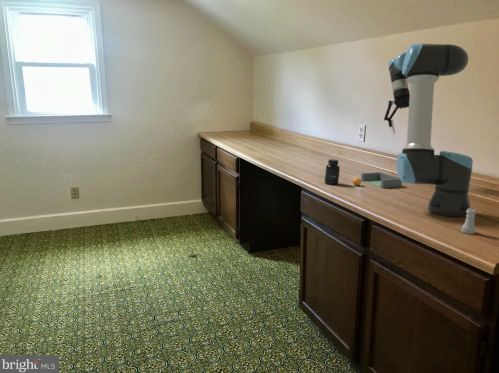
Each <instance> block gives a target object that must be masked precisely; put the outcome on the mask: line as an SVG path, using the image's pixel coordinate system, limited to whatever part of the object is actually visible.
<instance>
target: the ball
mask: <svg viewBox="0 0 499 373" xmlns="http://www.w3.org/2000/svg"><path fill="white" fill-rule="evenodd" d="M352 183H353V185H354V186H360V185H361V184H362V181H361V178H359V177H354V178H353V179H352Z"/></svg>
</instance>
